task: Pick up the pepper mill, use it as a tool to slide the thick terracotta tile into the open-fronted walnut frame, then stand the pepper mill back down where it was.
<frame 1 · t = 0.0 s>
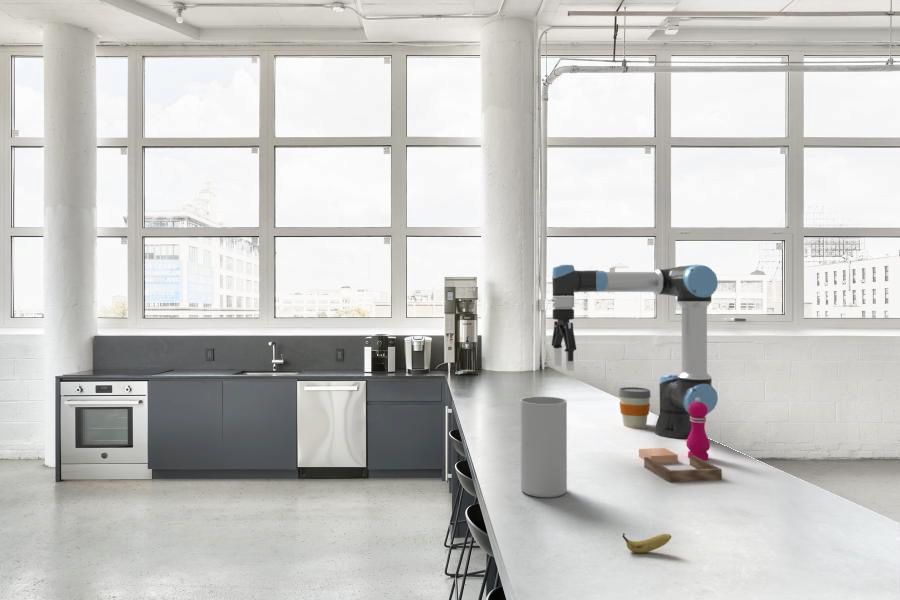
hand: (563, 368, 217), 28 cm above the countertop, fingers open, 13 cm apart
walnut frame: (681, 472, 185), on the countertop
pepper mill: (698, 458, 201), on the countertop
reusable coffee cup: (634, 426, 252), on the countertop
cylinder vase: (543, 491, 168), on the countertop
banana: (646, 553, 127), on the countertop
terracotta tile: (657, 461, 199), on the countertop
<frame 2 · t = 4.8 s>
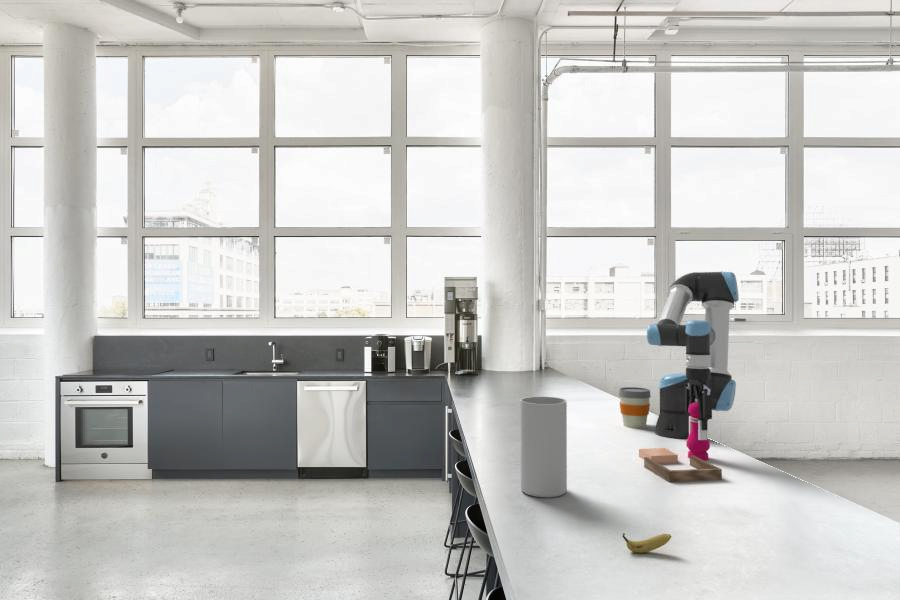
hand: (698, 437, 201), 7 cm above the countertop, fingers closed on pepper mill, 5 cm apart
pepper mill: (698, 458, 201), on the countertop, touching gripper
everything else where it was.
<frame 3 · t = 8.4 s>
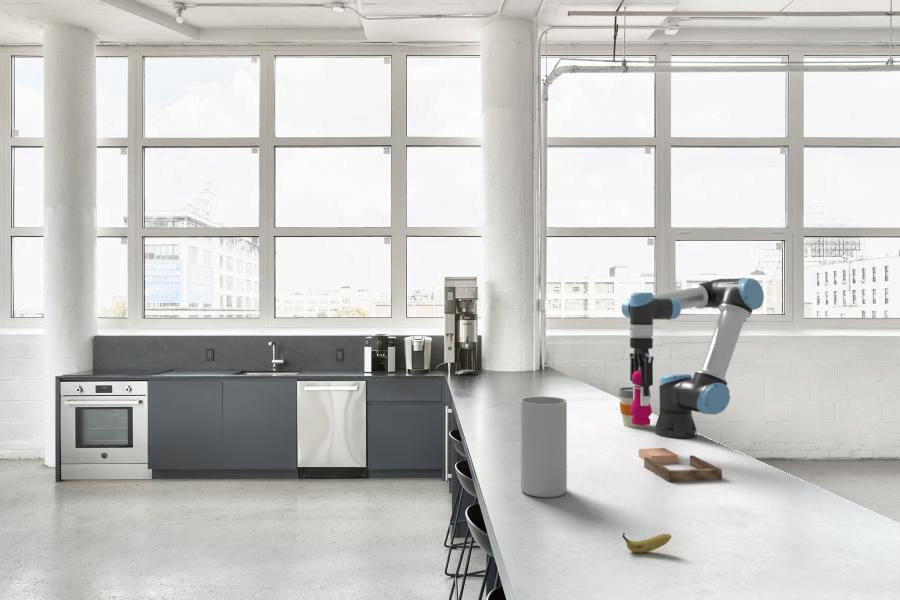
hand: (641, 403, 211), 16 cm above the countertop, fingers closed on pepper mill, 5 cm apart
pepper mill: (640, 424, 211), point 9 cm above the countertop, touching gripper
everything else where it was.
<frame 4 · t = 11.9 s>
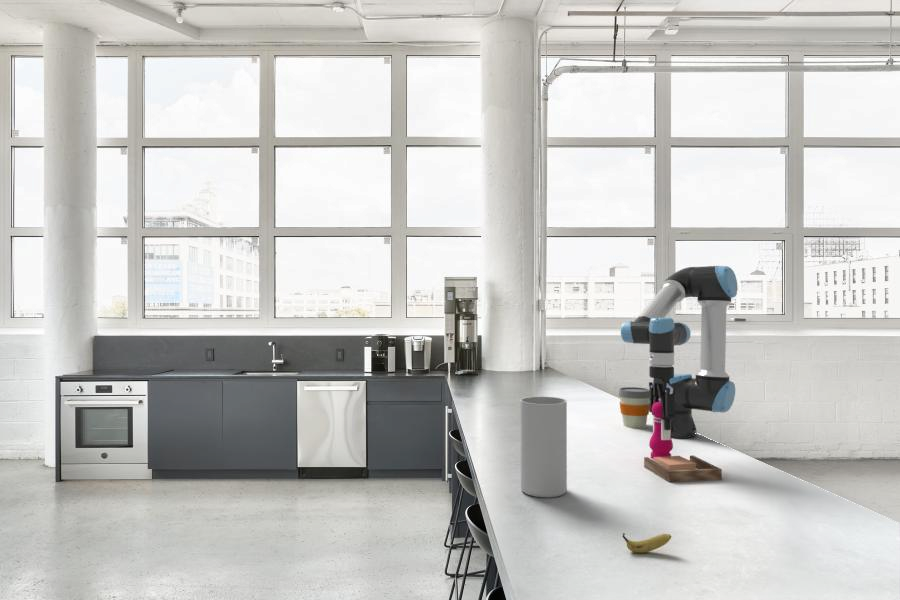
hand: (661, 437, 196), 8 cm above the countertop, fingers closed on pepper mill, 5 cm apart
pepper mill: (660, 459, 197), point 1 cm above the countertop, touching gripper
terracotta tile: (674, 469, 189), on the countertop
everything else where it was.
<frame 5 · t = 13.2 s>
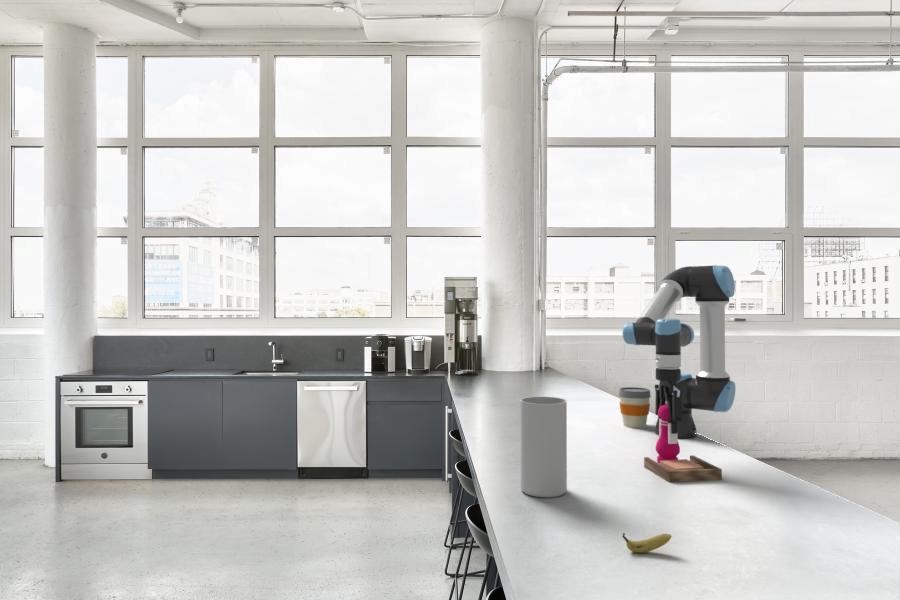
hand: (668, 441, 193), 8 cm above the countertop, fingers closed on pepper mill, 5 cm apart
pepper mill: (667, 463, 193), point 1 cm above the countertop, touching gripper
terracotta tile: (681, 473, 185), on the countertop
everything else where it was.
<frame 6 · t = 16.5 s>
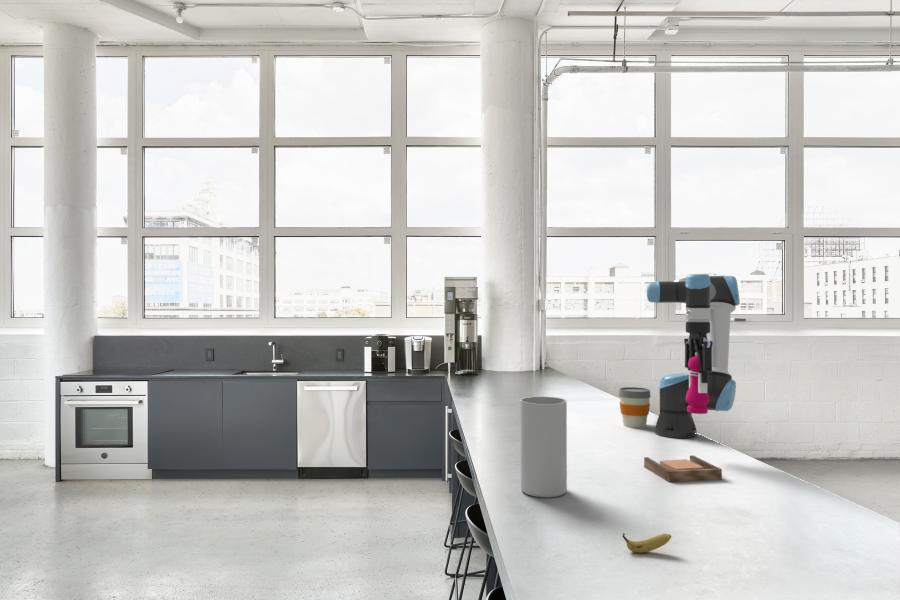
hand: (698, 391, 201), 22 cm above the countertop, fingers closed on pepper mill, 5 cm apart
pepper mill: (697, 412, 201), point 15 cm above the countertop, touching gripper
everything else where it was.
when the fingers open (8 cm above the countertop, at t = 19.2 s): pepper mill drops 1 cm, on the countertop.
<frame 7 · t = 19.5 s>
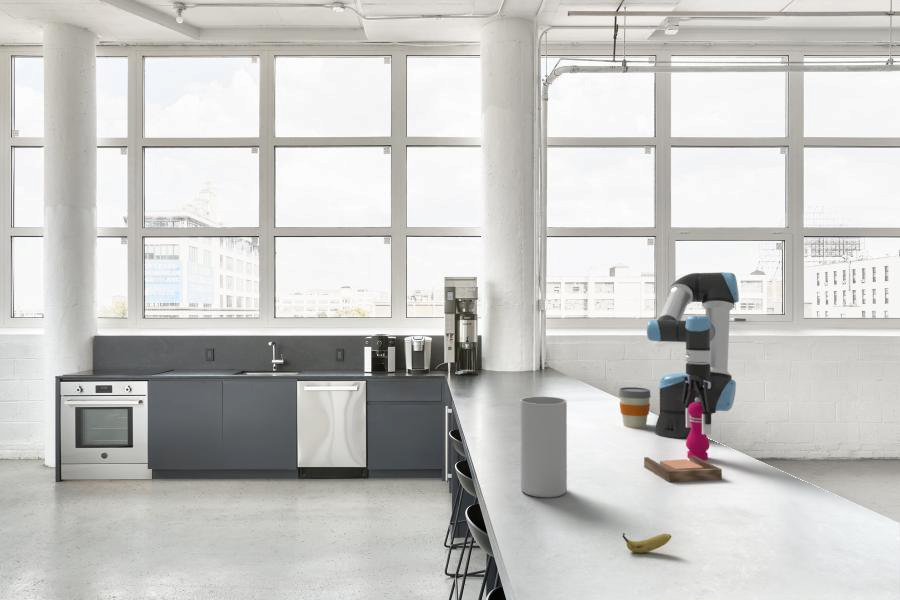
hand: (698, 430, 201), 9 cm above the countertop, fingers open, 9 cm apart
pepper mill: (697, 458, 202), on the countertop
everything else where it was.
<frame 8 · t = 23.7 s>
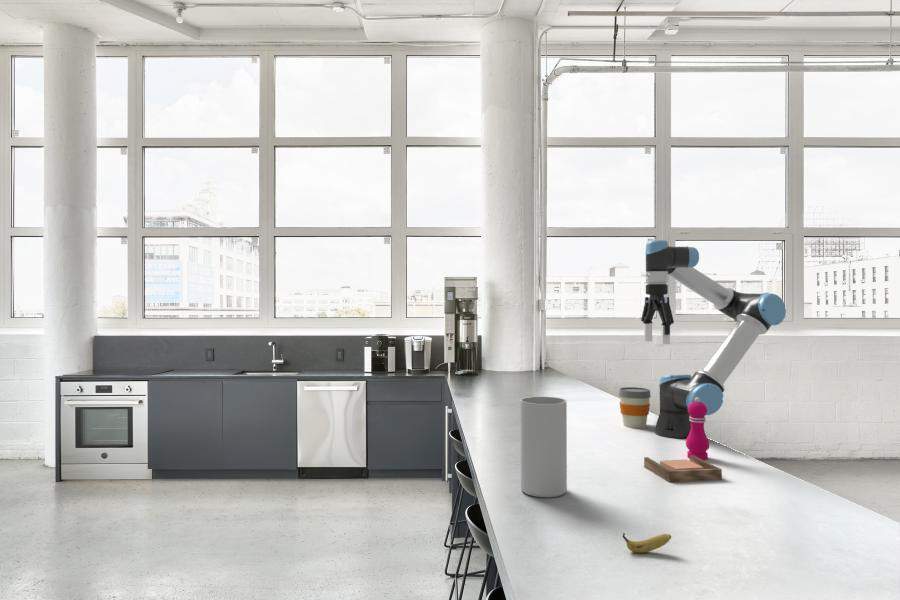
hand: (656, 342, 219), 37 cm above the countertop, fingers open, 13 cm apart
nothing on the countertop moved.
at the end: terracotta tile inside the target area on the walnut frame (0.6 cm from its centre), point -0.5 cm above the walnut frame's base; the gripper is holding nothing; pepper mill tilted 0° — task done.
